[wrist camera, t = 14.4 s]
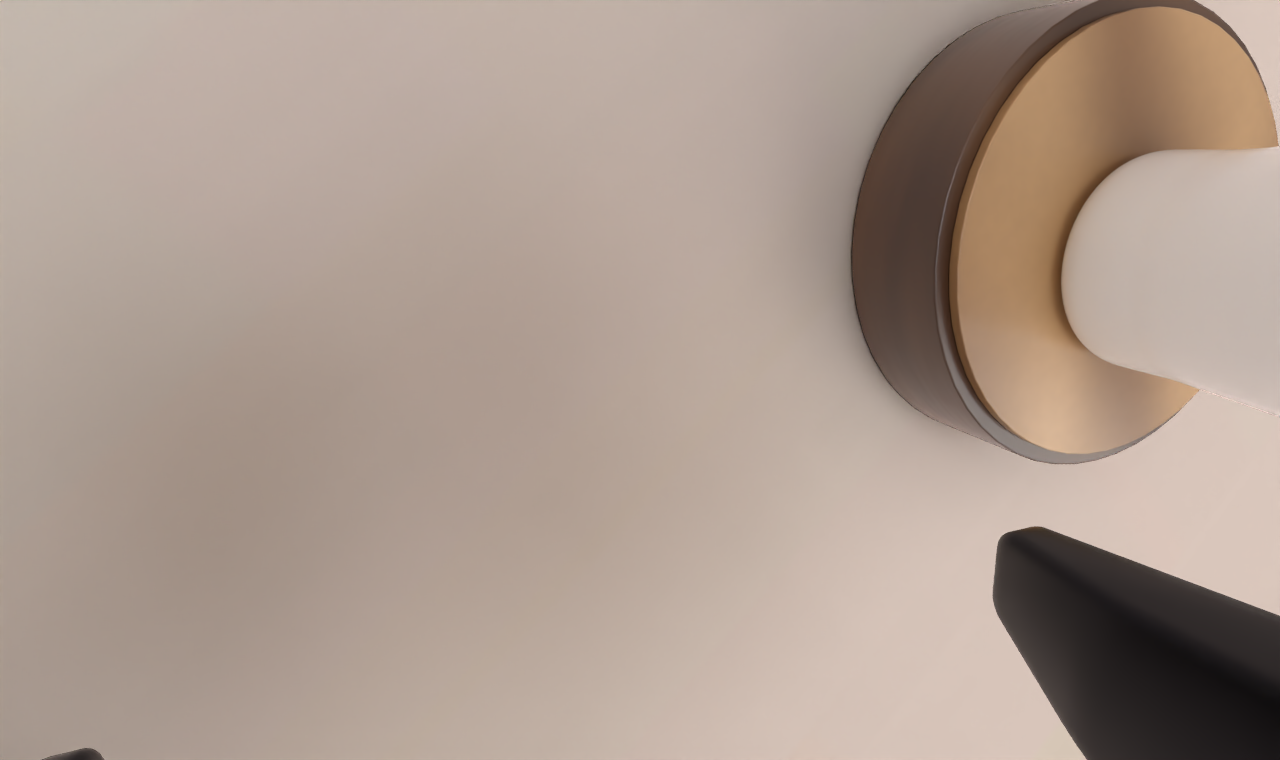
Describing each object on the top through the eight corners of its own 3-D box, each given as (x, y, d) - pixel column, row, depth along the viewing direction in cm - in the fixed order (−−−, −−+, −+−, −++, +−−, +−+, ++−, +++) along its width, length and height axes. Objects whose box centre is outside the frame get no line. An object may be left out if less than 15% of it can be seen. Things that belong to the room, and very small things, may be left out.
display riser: (920, 501, 26) (1009, 551, 23) (792, 127, 21) (883, 124, 18) (1193, 310, 28) (1307, 330, 25) (1135, -62, 23) (1267, -94, 20)
